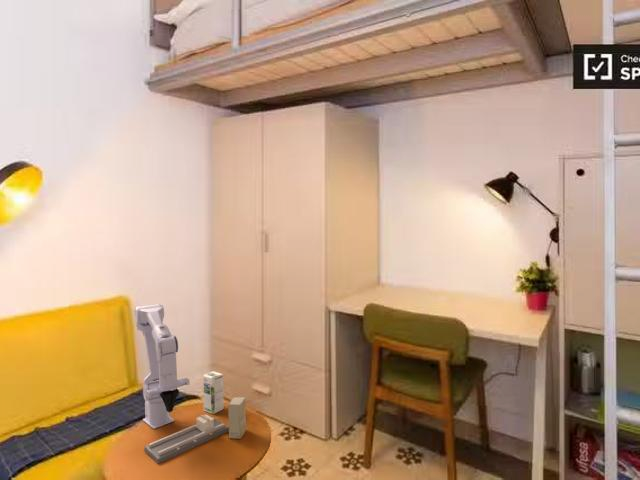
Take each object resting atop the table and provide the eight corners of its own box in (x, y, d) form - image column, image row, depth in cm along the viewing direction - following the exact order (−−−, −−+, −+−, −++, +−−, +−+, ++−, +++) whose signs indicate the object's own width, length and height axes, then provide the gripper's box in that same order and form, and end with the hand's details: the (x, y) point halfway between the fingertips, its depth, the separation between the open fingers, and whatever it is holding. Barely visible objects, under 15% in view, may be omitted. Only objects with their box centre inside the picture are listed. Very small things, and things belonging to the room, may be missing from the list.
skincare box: (240, 439, 142) (240, 405, 141) (228, 438, 143) (227, 404, 142) (246, 429, 148) (245, 397, 148) (234, 429, 149) (233, 396, 148)
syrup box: (203, 410, 163) (202, 375, 162) (214, 405, 168) (213, 370, 167) (213, 414, 160) (211, 378, 159) (224, 408, 165) (223, 373, 164)
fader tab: (196, 427, 147) (196, 416, 146) (206, 423, 150) (206, 412, 149) (203, 433, 143) (203, 421, 143) (214, 428, 146) (213, 417, 146)
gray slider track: (144, 451, 136) (144, 443, 136) (213, 421, 155) (213, 415, 154) (158, 463, 129) (157, 455, 129) (228, 431, 148) (228, 424, 148)
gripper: (152, 381, 133) (153, 422, 134) (193, 369, 143) (194, 407, 144) (142, 376, 138) (144, 415, 139) (183, 364, 148) (184, 400, 149)
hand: (169, 410), depth 142 cm, fingers closed
